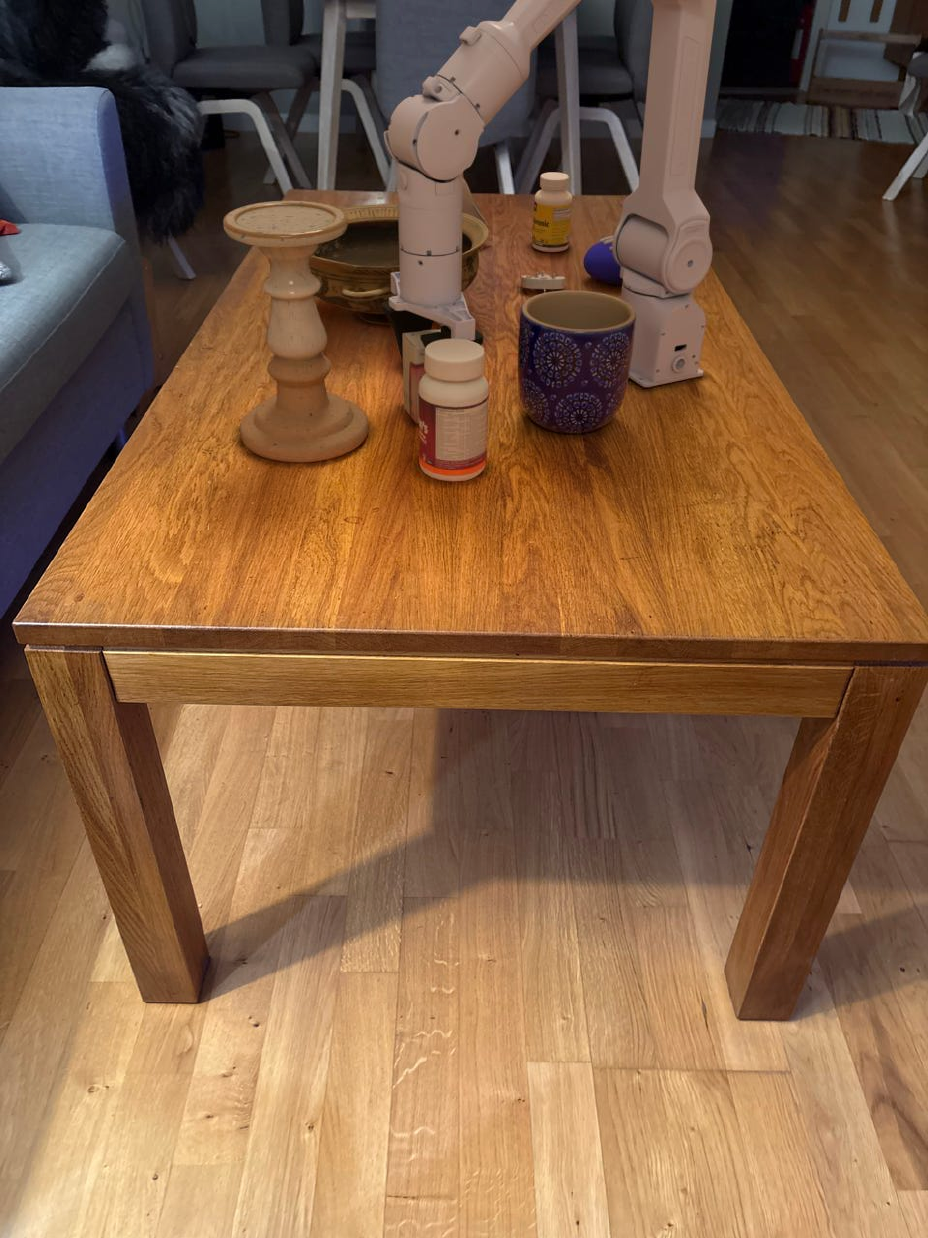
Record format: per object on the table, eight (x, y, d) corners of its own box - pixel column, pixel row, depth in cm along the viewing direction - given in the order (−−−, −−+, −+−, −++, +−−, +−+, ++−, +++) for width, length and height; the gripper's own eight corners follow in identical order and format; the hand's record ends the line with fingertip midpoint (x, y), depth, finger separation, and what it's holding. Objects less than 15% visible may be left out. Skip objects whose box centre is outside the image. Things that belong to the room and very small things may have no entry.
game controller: (556, 281, 130) (558, 261, 128) (587, 312, 121) (589, 291, 120) (516, 284, 129) (517, 264, 127) (544, 316, 120) (546, 295, 118)
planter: (640, 411, 99) (655, 303, 92) (595, 454, 92) (608, 340, 85) (544, 386, 103) (552, 281, 97) (495, 426, 96) (499, 315, 89)
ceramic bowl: (325, 268, 133) (319, 190, 126) (499, 279, 130) (502, 200, 124) (257, 354, 109) (246, 264, 103) (468, 370, 107) (470, 278, 100)
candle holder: (230, 415, 97) (200, 202, 84) (350, 398, 100) (337, 192, 88) (254, 473, 88) (224, 244, 75) (384, 452, 91) (376, 230, 79)
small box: (415, 425, 96) (414, 348, 91) (402, 407, 99) (401, 331, 94) (463, 418, 97) (465, 342, 92) (449, 400, 100) (450, 326, 96)
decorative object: (596, 241, 122) (578, 229, 131) (591, 289, 125) (574, 274, 134) (677, 243, 123) (654, 231, 132) (670, 291, 126) (648, 276, 135)
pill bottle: (417, 452, 91) (415, 335, 84) (482, 450, 92) (486, 334, 85) (421, 485, 87) (420, 364, 80) (489, 482, 87) (494, 362, 80)
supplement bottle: (525, 243, 143) (528, 172, 137) (557, 239, 145) (562, 169, 139) (542, 254, 139) (547, 181, 133) (575, 250, 141) (581, 178, 135)
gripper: (359, 229, 92) (366, 366, 100) (424, 276, 81) (425, 424, 90) (427, 221, 94) (428, 355, 103) (498, 265, 84) (492, 410, 92)
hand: (431, 386), depth 96 cm, fingers open, 7 cm apart
